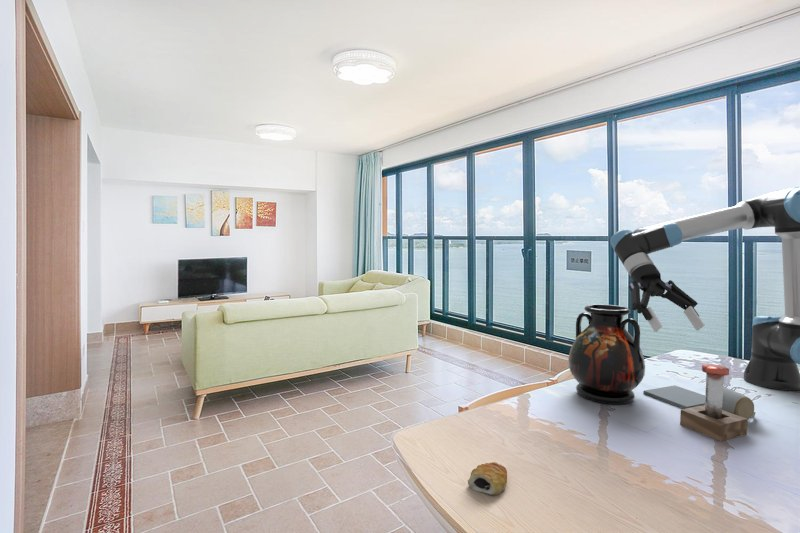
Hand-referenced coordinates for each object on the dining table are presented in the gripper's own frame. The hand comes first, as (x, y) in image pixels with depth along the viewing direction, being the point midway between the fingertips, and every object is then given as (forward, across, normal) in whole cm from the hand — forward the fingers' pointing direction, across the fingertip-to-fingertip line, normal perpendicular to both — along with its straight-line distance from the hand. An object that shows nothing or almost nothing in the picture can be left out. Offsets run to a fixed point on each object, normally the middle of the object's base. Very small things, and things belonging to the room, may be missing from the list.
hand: (679, 328), depth 118 cm
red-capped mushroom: (+25, -1, -9) cm, 26 cm away
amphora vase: (+6, +11, -28) cm, 31 cm away
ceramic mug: (+21, -14, -14) cm, 28 cm away
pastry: (+34, +66, -1) cm, 74 cm away
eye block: (+25, -1, -9) cm, 26 cm away
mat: (+10, -10, -23) cm, 28 cm away
